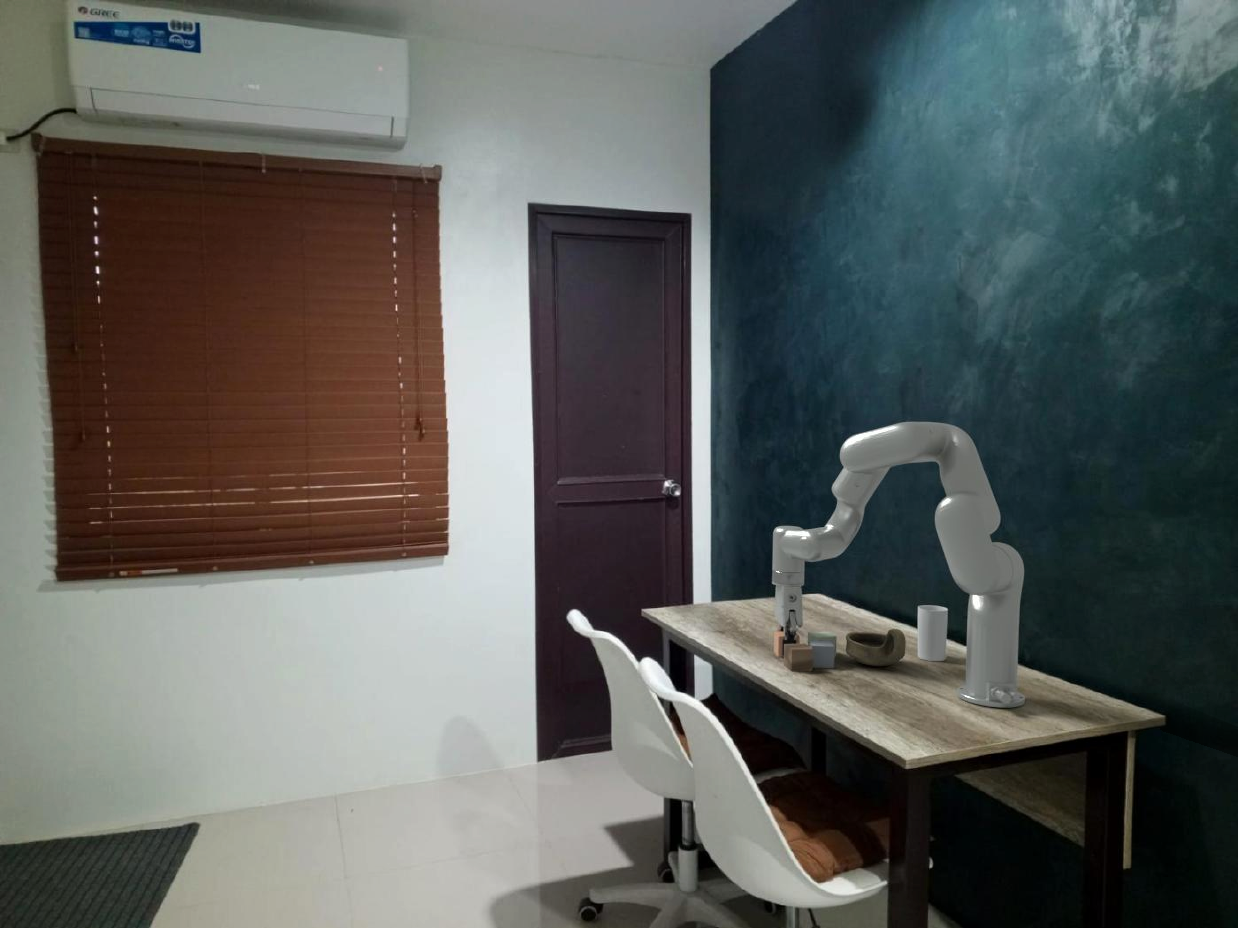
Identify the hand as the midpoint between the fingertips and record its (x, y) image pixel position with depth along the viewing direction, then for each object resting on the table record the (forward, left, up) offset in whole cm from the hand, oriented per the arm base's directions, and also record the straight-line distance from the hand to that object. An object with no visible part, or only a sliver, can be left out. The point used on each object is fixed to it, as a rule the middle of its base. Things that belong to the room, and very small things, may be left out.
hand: (786, 652), depth 208 cm
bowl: (-10, -19, -1) cm, 21 cm away
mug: (-1, -34, -1) cm, 34 cm away
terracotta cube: (0, 0, -1) cm, 1 cm away
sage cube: (0, -9, -1) cm, 9 cm away
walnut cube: (-12, 0, -1) cm, 12 cm away
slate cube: (-9, -6, -1) cm, 11 cm away
